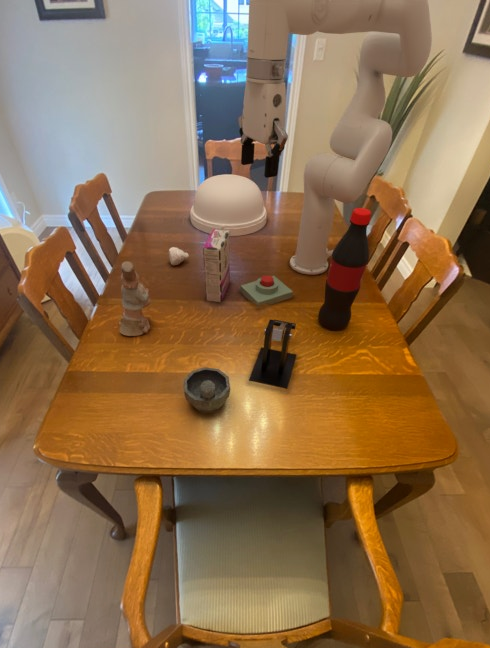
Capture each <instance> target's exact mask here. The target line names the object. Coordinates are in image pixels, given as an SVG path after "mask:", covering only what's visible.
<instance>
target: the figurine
mask: <svg viewBox="0 0 490 648" xmlns="http://www.w3.org/2000/svg"><path fill="white" fill-rule="evenodd" d="M120 267H121V268H120V269H121V275H120V276H119V278H120V282H121V284H122V285H121V286H120V287H121V288H120V294H121V300H120V301H121V306H122V309H124V310H123V312H122V315H121V316H120V321H119V322H118V326H119V332H120V334H121V335H123V336H126V337H136V336H141V335H144V334H146V333H148V332H149V330H150V329H151V325H150V322H149V319H148V318H147V317H146V316H144V314H143V312H142V311H143V309H144V308H147V307H149V306H150V305H151V303H152V300H151V298H150V295H149V294H150V290H149V288H147V287H146V286H145V285H144V284H143V283H141V282H140V281H139V280H140V276H139V274H138V273H137V271H136V269H135V266H134V264H133V263H132V262H131V261H128V260H126V261H123V262H122V263H121V266H120Z"/></svg>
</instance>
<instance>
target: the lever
mask: <svg viewBox="0 0 490 648" xmlns="http://www.w3.org/2000/svg"><path fill="white" fill-rule="evenodd" d="M273 320H274V326H273V332H272V338H271V340H272V341H275V342H283V337H284V333H285V330H286V327H287V323H292V328H291V330H296V328H297V327H296V326H297V323H295V322H289V321H285V320H281V319H280V320H279V319H273Z"/></svg>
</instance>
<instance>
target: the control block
mask: <svg viewBox="0 0 490 648" xmlns="http://www.w3.org/2000/svg"><path fill="white" fill-rule="evenodd" d="M270 276H271V277H273V279H274V281H273V286H271V287H264V286H262V285H261V278H262V277H258V278H257V279H256V280H255V281H251V282H248V283H245V284H241V285H240V290H239V292H240V293H241V294H242V296H244V297H245V298H246V299H247V300H248V301H249V302H252V303H254V304H255V305H256V306H257V307H260V306H263V305H268V306H271V305H274V304H277V303H278V304H279V303H280V302H283V301H286V300H290V299H292V298H293V293H294V291H293V290H292V289H291V288H290V287H288V285H286V284H285V283H284V282H282V281H281V280H280V279H279V278H278V277H277V276H276V275H270Z"/></svg>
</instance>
